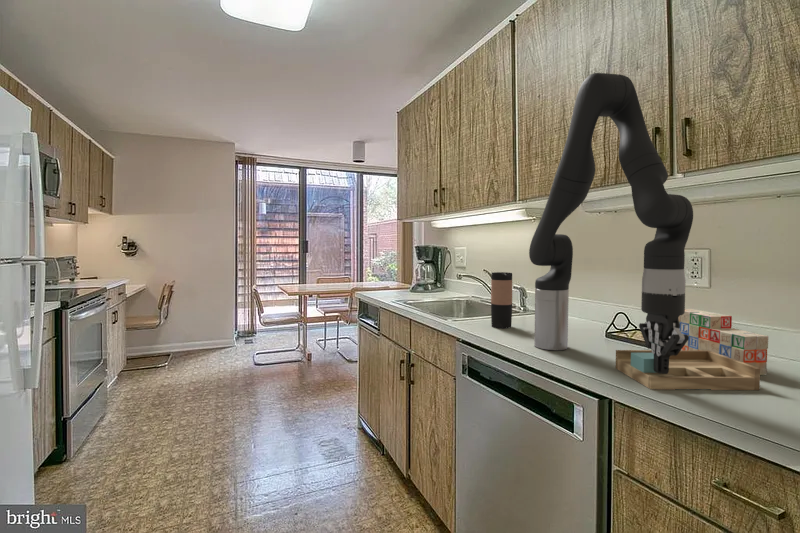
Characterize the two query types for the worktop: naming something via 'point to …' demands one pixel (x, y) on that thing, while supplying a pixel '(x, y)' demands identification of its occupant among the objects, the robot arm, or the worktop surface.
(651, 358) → the block
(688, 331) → the stack of blocks
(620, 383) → the worktop surface
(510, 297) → the travel mug
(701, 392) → the worktop surface
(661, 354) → the robot arm
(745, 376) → the board
